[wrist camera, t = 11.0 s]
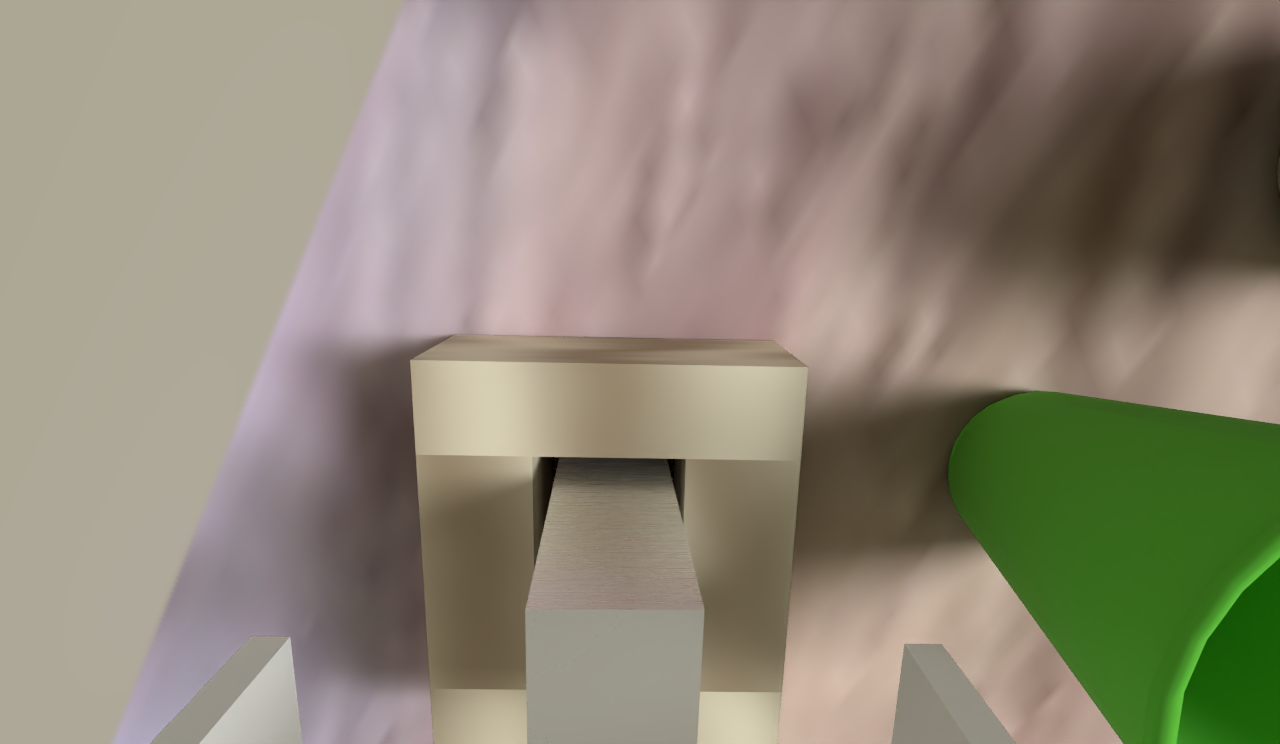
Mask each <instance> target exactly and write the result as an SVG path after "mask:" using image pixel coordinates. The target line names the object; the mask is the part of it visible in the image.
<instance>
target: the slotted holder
mask: <svg viewBox="0 0 1280 744" xmlns="http://www.w3.org/2000/svg"><path fill="white" fill-rule="evenodd" d="M410 367H411V384H412V400H413V417H414V433H415V450H416V466H417V483H418V499H419V516H420V532H421V548H422V565H423V581H424V598H425V614H426V631H427V647H428V664H429V680H430V697H431V713H432V729H433V744H527V696H526V631H525V609H526V604H527V600H528V595H529V591H530V587H531V582H532V578H533V573H534V569H535V564H536V560H537V555H538V551H539V546H540V542H541V537H542V533H543V529H544V524H545V520H546V515H547V511H548V506H549V502H550V497H551V493H552V457H590V458H652V459H674V481H673V486H674V490H675V494H676V498H677V502H678V506H679V510H680V514H681V518H682V522H683V526H684V530H685V534H686V538H687V542H688V546H689V550H690V554H691V557H692V561H693V565H694V569H695V573H696V577H697V581H698V585H699V589H700V593H701V597H702V601H703V605H704V609H705V610H704V629H703V647H702V665H701V683H700V702H699V720H698V738H697V744H778V734H779V722H780V710H781V697H782V685H783V673H784V660H785V648H786V636H787V624H788V611H789V599H790V587H791V574H792V562H793V550H794V538H795V525H796V513H797V501H798V489H799V476H800V464H801V452H802V439H803V427H804V415H805V403H806V390H807V378H808V367H807V366H806V365H805V364H803V363H802V362H801V361H800V360H798V359H797V358H796V357H794V356H793V355H792V354H790V353H789V352H788V351H787V350H785V349H784V348H783V347H781V346H780V345H779V344H777V343H776V342H775V341H772V340H719V339H666V338H612V337H559V336H506V335H453V336H451V337H450V338H448V339H446V340H444V341H443V342H441V343H439V344H437V345H436V346H434V347H432V348H430V349H429V350H427V351H425V352H423V353H422V354H420V355H418V356H416V357H414V358H413V359H411V360H410Z"/></svg>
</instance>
